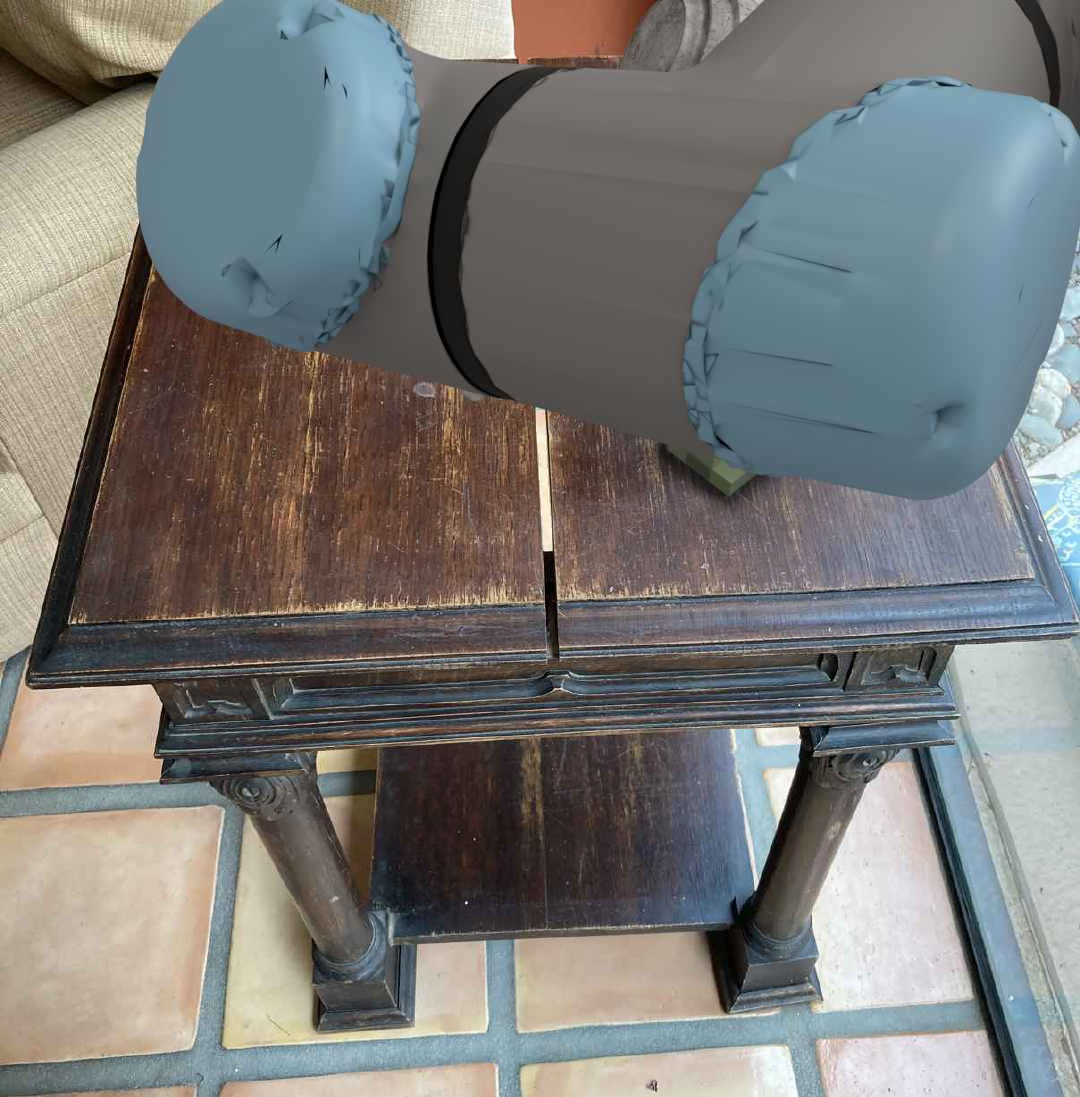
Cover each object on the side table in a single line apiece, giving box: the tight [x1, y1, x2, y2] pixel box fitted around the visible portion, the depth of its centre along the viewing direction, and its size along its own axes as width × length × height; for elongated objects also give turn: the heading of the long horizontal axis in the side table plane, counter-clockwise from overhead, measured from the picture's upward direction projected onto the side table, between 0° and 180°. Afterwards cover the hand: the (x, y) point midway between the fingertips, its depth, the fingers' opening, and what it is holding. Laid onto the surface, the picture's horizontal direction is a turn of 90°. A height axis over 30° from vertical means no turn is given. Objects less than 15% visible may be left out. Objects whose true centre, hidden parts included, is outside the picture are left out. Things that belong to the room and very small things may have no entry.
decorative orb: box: [618, 0, 760, 72], centre depth 91 cm, size 15×14×15 cm
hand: (809, 398), depth 55 cm, fingers closed
